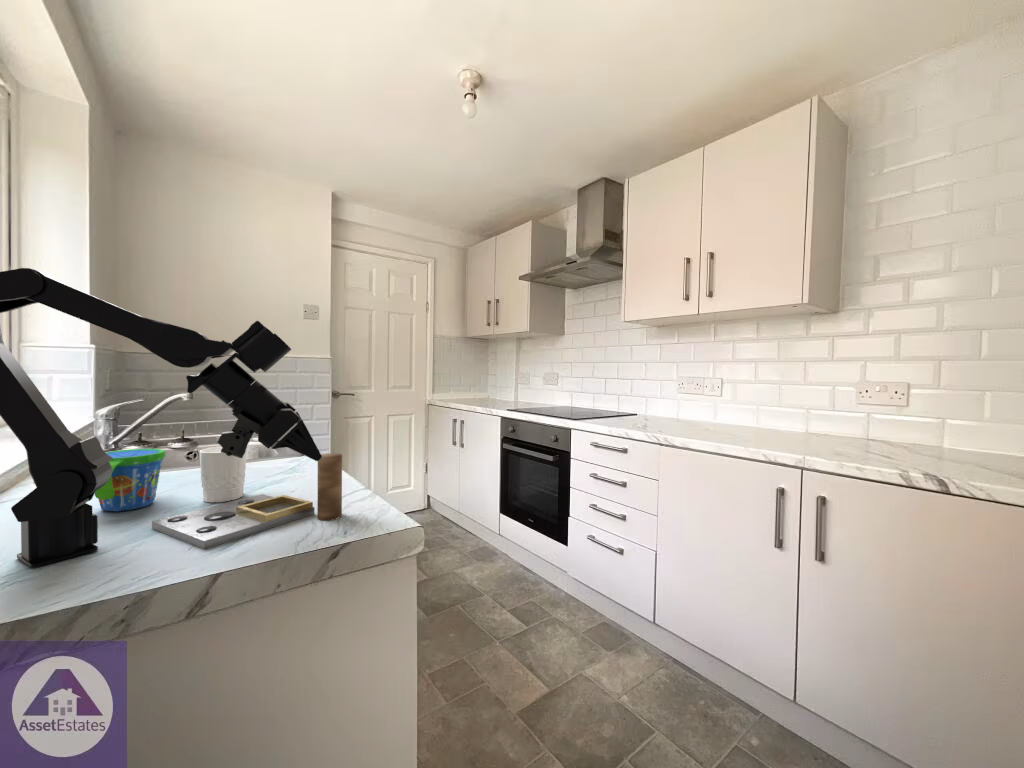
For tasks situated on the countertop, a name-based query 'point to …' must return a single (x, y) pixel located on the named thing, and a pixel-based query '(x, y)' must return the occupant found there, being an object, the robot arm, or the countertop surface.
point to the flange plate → (233, 519)
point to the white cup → (221, 475)
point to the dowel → (329, 487)
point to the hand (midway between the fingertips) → (317, 454)
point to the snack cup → (131, 479)
